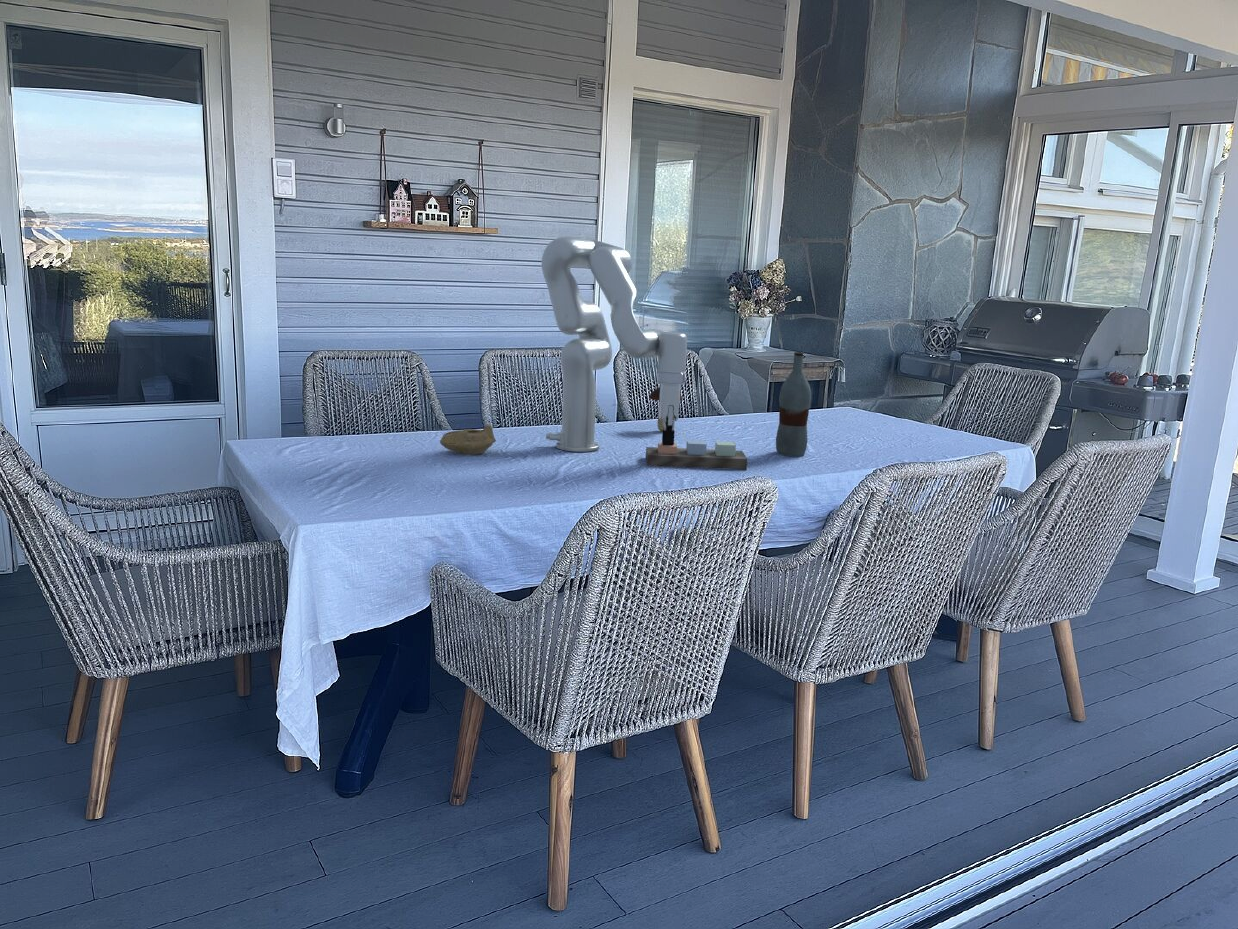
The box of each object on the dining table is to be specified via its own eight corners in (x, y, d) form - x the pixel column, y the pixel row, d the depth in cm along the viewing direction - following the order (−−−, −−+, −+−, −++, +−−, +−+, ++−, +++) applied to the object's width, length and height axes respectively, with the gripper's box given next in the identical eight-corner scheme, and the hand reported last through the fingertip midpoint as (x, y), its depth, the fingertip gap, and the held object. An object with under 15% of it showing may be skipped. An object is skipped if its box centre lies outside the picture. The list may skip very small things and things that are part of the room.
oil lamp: (434, 451, 268) (434, 423, 266) (484, 447, 276) (484, 420, 274) (450, 459, 259) (450, 430, 257) (501, 455, 267) (501, 426, 266)
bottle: (768, 452, 286) (776, 351, 280) (785, 449, 293) (793, 350, 286) (795, 458, 280) (804, 354, 273) (812, 454, 287) (821, 353, 280)
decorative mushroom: (648, 427, 319) (651, 382, 316) (682, 429, 317) (684, 384, 314) (645, 433, 308) (647, 386, 305) (679, 435, 307) (682, 388, 304)
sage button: (716, 460, 264) (717, 444, 264) (714, 457, 269) (715, 441, 268) (734, 461, 265) (735, 445, 264) (732, 457, 269) (733, 441, 268)
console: (647, 465, 261) (647, 455, 261) (645, 457, 272) (646, 446, 272) (746, 469, 262) (747, 458, 261) (741, 461, 273) (742, 450, 272)
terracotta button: (658, 462, 264) (658, 446, 263) (657, 458, 269) (657, 442, 268) (676, 462, 264) (677, 446, 263) (674, 459, 269) (675, 443, 268)
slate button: (687, 459, 264) (688, 443, 263) (685, 455, 269) (686, 440, 268) (705, 460, 264) (706, 444, 263) (703, 456, 269) (704, 440, 268)
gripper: (655, 374, 269) (652, 439, 273) (658, 381, 255) (655, 449, 258) (682, 375, 269) (679, 440, 273) (687, 382, 255) (683, 450, 259)
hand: (667, 444), depth 266 cm, fingers closed
